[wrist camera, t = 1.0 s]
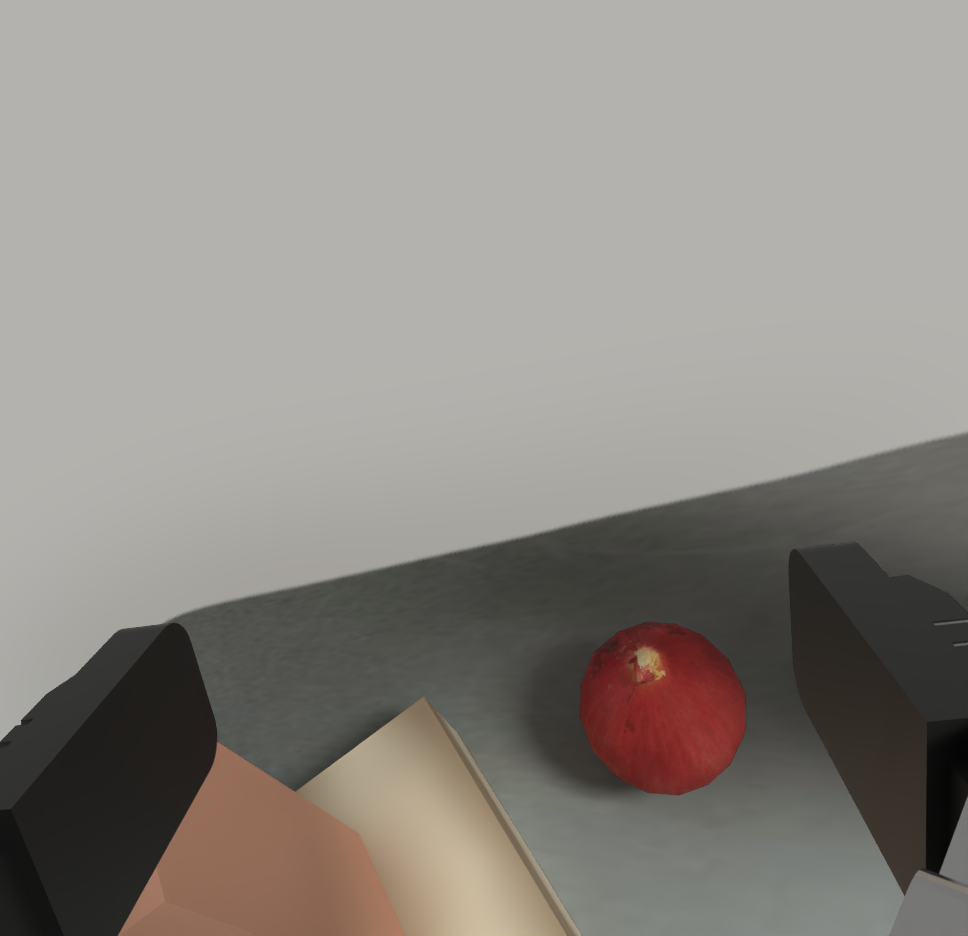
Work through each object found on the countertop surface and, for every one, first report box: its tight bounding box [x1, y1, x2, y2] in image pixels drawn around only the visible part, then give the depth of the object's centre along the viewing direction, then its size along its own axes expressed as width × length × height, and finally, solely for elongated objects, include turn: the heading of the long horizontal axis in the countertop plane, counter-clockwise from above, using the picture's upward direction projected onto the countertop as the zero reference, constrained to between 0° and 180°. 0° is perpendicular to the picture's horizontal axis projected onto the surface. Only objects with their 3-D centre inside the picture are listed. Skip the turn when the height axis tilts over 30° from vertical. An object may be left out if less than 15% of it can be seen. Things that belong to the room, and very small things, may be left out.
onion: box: [580, 622, 746, 795], centre depth 29 cm, size 6×6×8 cm
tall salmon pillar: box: [118, 742, 406, 936], centre depth 22 cm, size 3×6×14 cm, turn 32°
